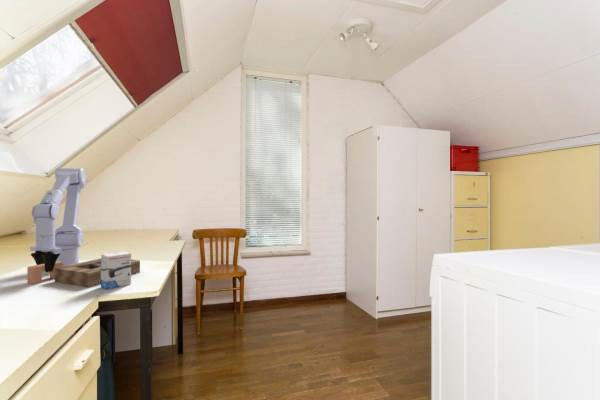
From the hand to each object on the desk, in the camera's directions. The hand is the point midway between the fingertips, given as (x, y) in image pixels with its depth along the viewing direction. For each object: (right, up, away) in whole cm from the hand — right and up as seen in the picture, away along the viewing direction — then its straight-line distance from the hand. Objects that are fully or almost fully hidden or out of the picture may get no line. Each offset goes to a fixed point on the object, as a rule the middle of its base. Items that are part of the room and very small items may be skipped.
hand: (45, 271), depth 117 cm
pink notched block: (0, -3, 0) cm, 3 cm away
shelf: (+17, -4, +6) cm, 18 cm away
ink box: (+30, -4, -5) cm, 31 cm away
